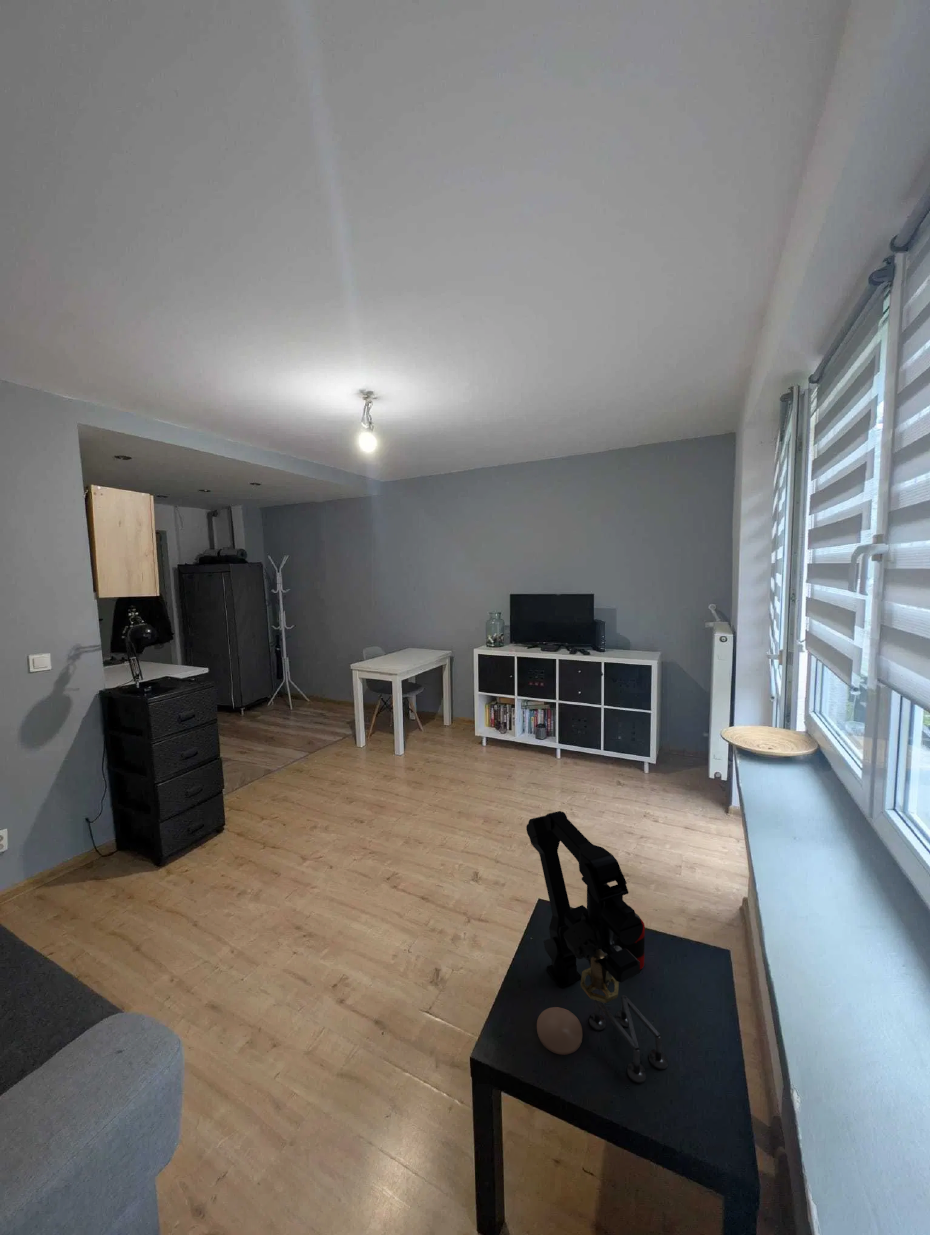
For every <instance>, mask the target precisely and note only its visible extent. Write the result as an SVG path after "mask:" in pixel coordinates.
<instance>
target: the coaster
mask: <svg viewBox="0 0 930 1235" xmlns="http://www.w3.org/2000/svg"><path fill="white" fill-rule="evenodd" d="M536 1031H537V1032H536V1033H537V1036H538V1039H539V1041H540V1043H541V1044H542V1045H543V1047H544V1048H545V1049H546V1050H548V1051H550V1052H551V1053H554V1054H556V1055H562V1056H566V1055H567V1056H568V1055H570V1054H571V1055H572V1054H573V1053H575V1052H577V1050H578V1049H579V1048H580V1047H581V1045H582V1042H583V1027H582V1024H581V1022H580V1020H579V1019H578V1016H576V1015H575V1014H574V1013H572V1011H570V1010H568V1009H565V1008H563V1007H558V1006H554V1007H553V1006H552V1007H549V1008H546V1009H544V1010H543V1011H541V1013H540V1014H539V1016H538V1017H537V1021H536Z"/></svg>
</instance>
